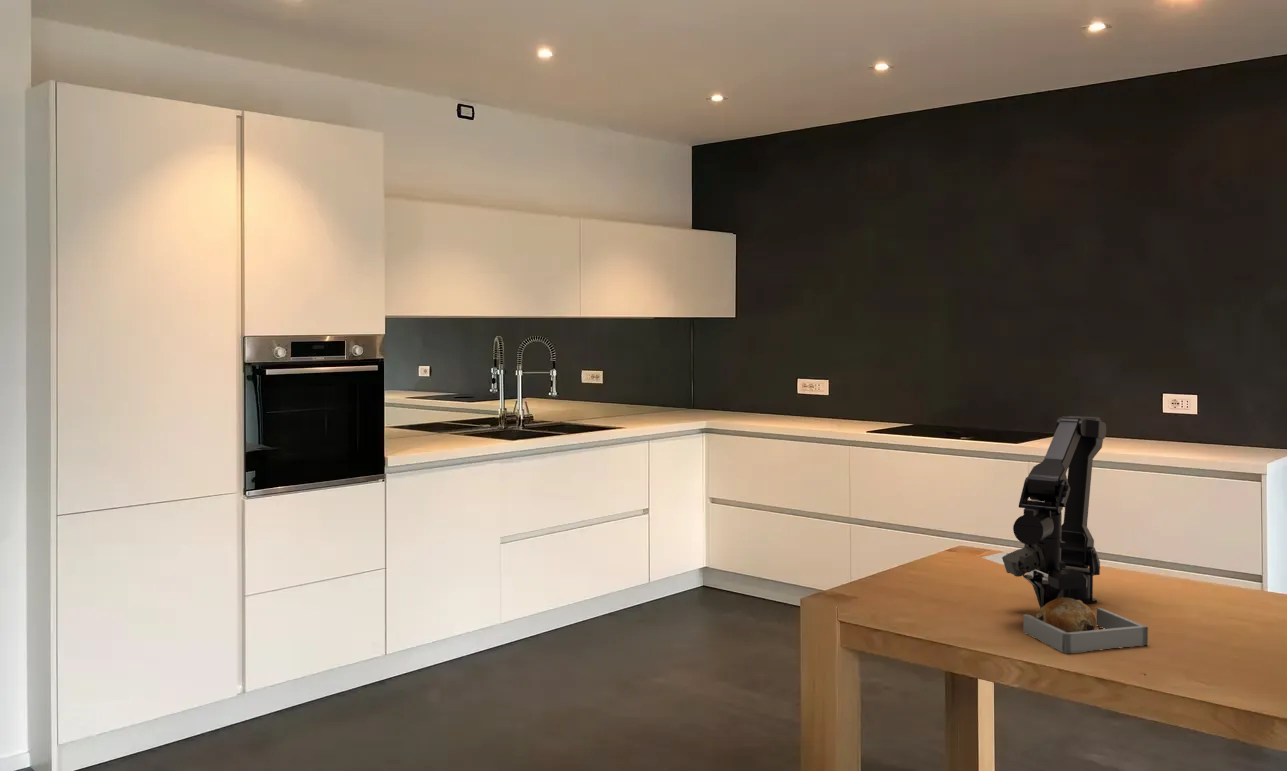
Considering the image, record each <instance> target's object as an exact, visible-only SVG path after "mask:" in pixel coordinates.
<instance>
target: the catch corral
mask: <svg viewBox="0 0 1287 771" xmlns="http://www.w3.org/2000/svg"><path fill="white" fill-rule="evenodd" d="M1022 620H1023V625H1022V626H1023V632H1024V633H1023V634H1025V633H1027V634H1029V635H1031V636H1033V637H1035V638H1037V639H1039V640H1041V641H1043V642H1044V643H1043V642H1042V643H1043V644H1045V643H1046V644H1045V645H1047V644H1048V645H1047V646H1049V645H1050V646H1049V647H1051V648H1053V649H1056V650H1057V651H1059V652H1061V653H1063V654H1065V655H1068V654H1078V653H1086V652H1087V651H1090V652H1094V651H1093V650H1100V649H1109V648H1119V647H1130V648H1135V647H1134V646H1140V647H1145V646H1144V645H1148V642H1149V641H1148V640H1149V637H1148V636H1149V635H1148V634H1149V629H1148V628H1149V627H1148V626H1147V625H1144V624H1141V623H1139V622H1137V621H1134V620H1131V619H1130V618H1126V617H1124V616H1122V615H1119V614H1116V613H1115V612H1112V611H1110V610H1107V609H1105V608H1102V607H1097V608H1096V625H1098V626H1100V627H1103V628H1105V629H1102V628H1101V629H1094V630H1090V631H1080V632H1069V633H1067V632H1065V631H1063V630H1060V629H1058V628H1056V627H1054V626H1052V625H1050V624H1048V623H1046V622H1043V621H1041V620H1039V619H1037V618H1036V616H1033V615H1030V614H1023V618H1022ZM1098 626H1097V627H1098ZM1100 627H1099V628H1100ZM1027 634H1026V635H1027ZM1029 635H1028V636H1029ZM1031 636H1030V637H1031ZM1033 637H1032V638H1033ZM1035 638H1034V639H1035ZM1037 639H1036V640H1037ZM1039 640H1038V641H1039ZM1041 641H1040V642H1041ZM1100 651H1101V650H1100ZM1087 653H1088V652H1087Z"/></svg>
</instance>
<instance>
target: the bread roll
mask: <svg viewBox="0 0 1287 771" xmlns="http://www.w3.org/2000/svg"><path fill="white" fill-rule="evenodd" d="M1039 609H1040V610H1039V611H1038V612H1037V613H1036V616H1035V618H1037V619H1039V620H1041V621H1043V622H1046V623H1048V624H1050V625H1052V626H1054V627H1056V628H1058V629H1060V630H1063V631H1065V632H1067V633H1069V632H1080V631H1090V630H1096V628H1097V626H1096V622H1097V618H1096V616H1095V614H1094V612H1093V611H1092V609H1091V608H1090V607H1089V606H1088V605H1087V604H1086V603H1083V602H1082V601H1080V600H1075V599H1072V598H1056V599H1054V600H1052V601H1049V602H1048V603H1046V604H1045V605H1044V606H1043V607H1041V608H1040V607H1039Z"/></svg>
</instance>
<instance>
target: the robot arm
mask: <svg viewBox="0 0 1287 771" xmlns="http://www.w3.org/2000/svg"><path fill="white" fill-rule="evenodd" d="M1106 436H1107V425H1106V423H1105V422H1103V421H1102V420H1101V418H1100V417H1099V416H1081V415H1080V416H1079V415H1078V416H1077V415H1075V416H1074V415H1069V416H1062V417H1058V418H1057V420H1056V430H1055V432H1054V434H1053V436H1052V440H1051V441H1050V444H1049V447H1048V449H1047V451H1046V454H1045V455H1044V458H1043V459H1042V462H1038V464H1036V465H1034V466H1033V467H1032V469H1031V470H1030V472H1029V473H1028V476H1026V477H1025V479H1024V481H1023V486H1022V491H1021V495H1020V498H1019V501H1018V508H1019V509H1020V508H1021V509H1023V515H1020V516H1019V517H1018V518H1017V519H1015V521H1014V522H1013V526H1012V530H1013V534H1014V537H1015V538H1016V539H1017V541H1019V542H1020V543H1022V544H1024V545H1023V546H1024V547H1022V548H1019V549H1016V550H1014V551H1010V552H1011V553H1009V554H1006V555H1005V556H1003V557H1002V559H1003V562H1004V565H1003V566H1004V568H1005V571H1006V573H1007V574H1011V575H1013V576H1014V577H1016V578H1017V577H1023V579H1025V580H1026V581H1027V582H1028V583H1030V584H1031V585H1032V588H1033V589H1034V593H1035V596H1036V598H1037V602H1038V605H1039V609H1040V608H1041V607H1043V606H1044V605H1045V604H1046V603H1048V602H1049V601H1052V600H1054V599H1057V598H1072V599H1075V600H1080V601H1082V602H1083V604H1092V603H1093V604H1094V603H1098V601H1099V600H1098V599H1096V598H1094V597H1093V596H1094V595H1093V594H1094V593H1093V592H1094V588H1093V587H1094V584H1093V583H1094V576H1099V575H1100V574H1101V560H1100V559H1099V555H1098V552H1097V550H1096V548H1095V540H1094V538H1093V535H1092V533H1091V531H1090V529H1089V528H1088V518H1089V517H1088V515H1089V506H1090V505H1089V504H1090V496H1091V495H1090V494H1091V485H1092V484H1091V482H1092V472H1093V460H1094V459H1095V457H1096V456H1097V454H1098V453H1099V452H1100V451H1101V449H1102V448H1103V444H1104V443H1103V442H1104V440H1105V439H1106ZM1063 508H1064V515H1063V514H1062V511H1063ZM1062 516H1063V519H1062ZM1062 520H1063V523H1062ZM1048 571H1050V572H1048Z"/></svg>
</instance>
